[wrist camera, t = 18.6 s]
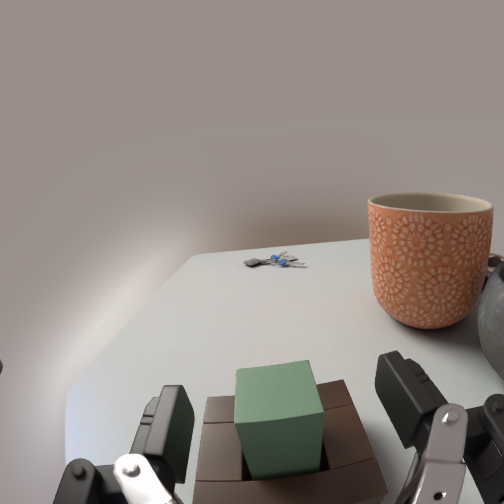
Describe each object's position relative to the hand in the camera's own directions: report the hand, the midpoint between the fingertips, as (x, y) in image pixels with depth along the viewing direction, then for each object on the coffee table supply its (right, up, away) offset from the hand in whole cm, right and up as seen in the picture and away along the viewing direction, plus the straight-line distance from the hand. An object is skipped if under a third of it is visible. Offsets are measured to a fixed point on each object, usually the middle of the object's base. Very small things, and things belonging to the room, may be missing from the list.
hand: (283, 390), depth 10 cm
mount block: (+1, -11, +5) cm, 12 cm away
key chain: (+4, +3, +52) cm, 52 cm away
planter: (+23, -3, +22) cm, 32 cm away
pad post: (+1, -11, +5) cm, 12 cm away
